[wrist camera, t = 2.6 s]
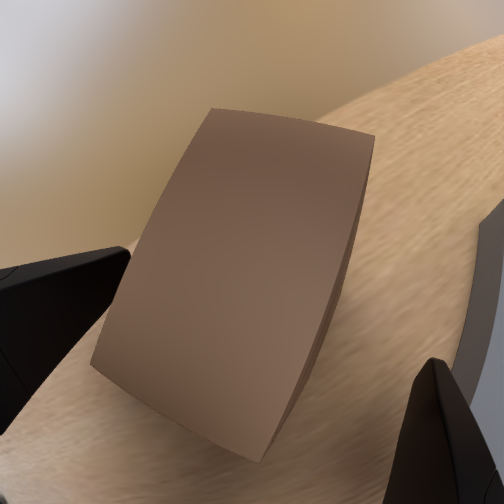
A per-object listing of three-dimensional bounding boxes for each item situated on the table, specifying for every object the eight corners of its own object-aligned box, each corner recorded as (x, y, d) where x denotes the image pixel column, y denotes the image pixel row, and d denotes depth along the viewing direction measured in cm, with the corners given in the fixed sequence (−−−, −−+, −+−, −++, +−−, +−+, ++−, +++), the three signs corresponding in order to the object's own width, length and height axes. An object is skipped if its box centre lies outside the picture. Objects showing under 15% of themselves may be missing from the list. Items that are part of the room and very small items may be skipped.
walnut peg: (307, 380, 14) (259, 463, 3) (254, 359, 15) (89, 364, 4) (341, 289, 15) (375, 135, 4) (288, 272, 16) (211, 108, 5)
